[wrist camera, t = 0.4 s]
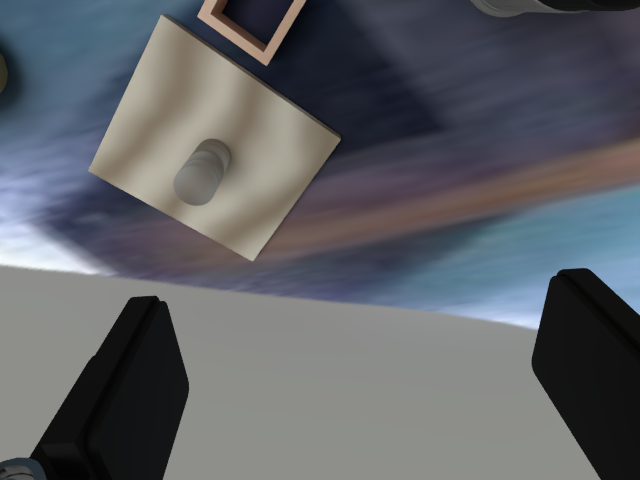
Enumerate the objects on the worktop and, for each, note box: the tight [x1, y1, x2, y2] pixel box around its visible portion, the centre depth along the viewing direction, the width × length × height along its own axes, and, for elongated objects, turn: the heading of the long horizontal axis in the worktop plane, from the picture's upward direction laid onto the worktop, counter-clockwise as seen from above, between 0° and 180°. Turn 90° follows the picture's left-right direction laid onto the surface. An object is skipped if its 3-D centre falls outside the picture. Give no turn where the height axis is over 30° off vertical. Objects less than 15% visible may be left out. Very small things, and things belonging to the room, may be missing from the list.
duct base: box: [88, 14, 341, 261], centre depth 38 cm, size 18×16×10 cm
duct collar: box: [197, 0, 306, 66], centre depth 34 cm, size 6×6×5 cm
